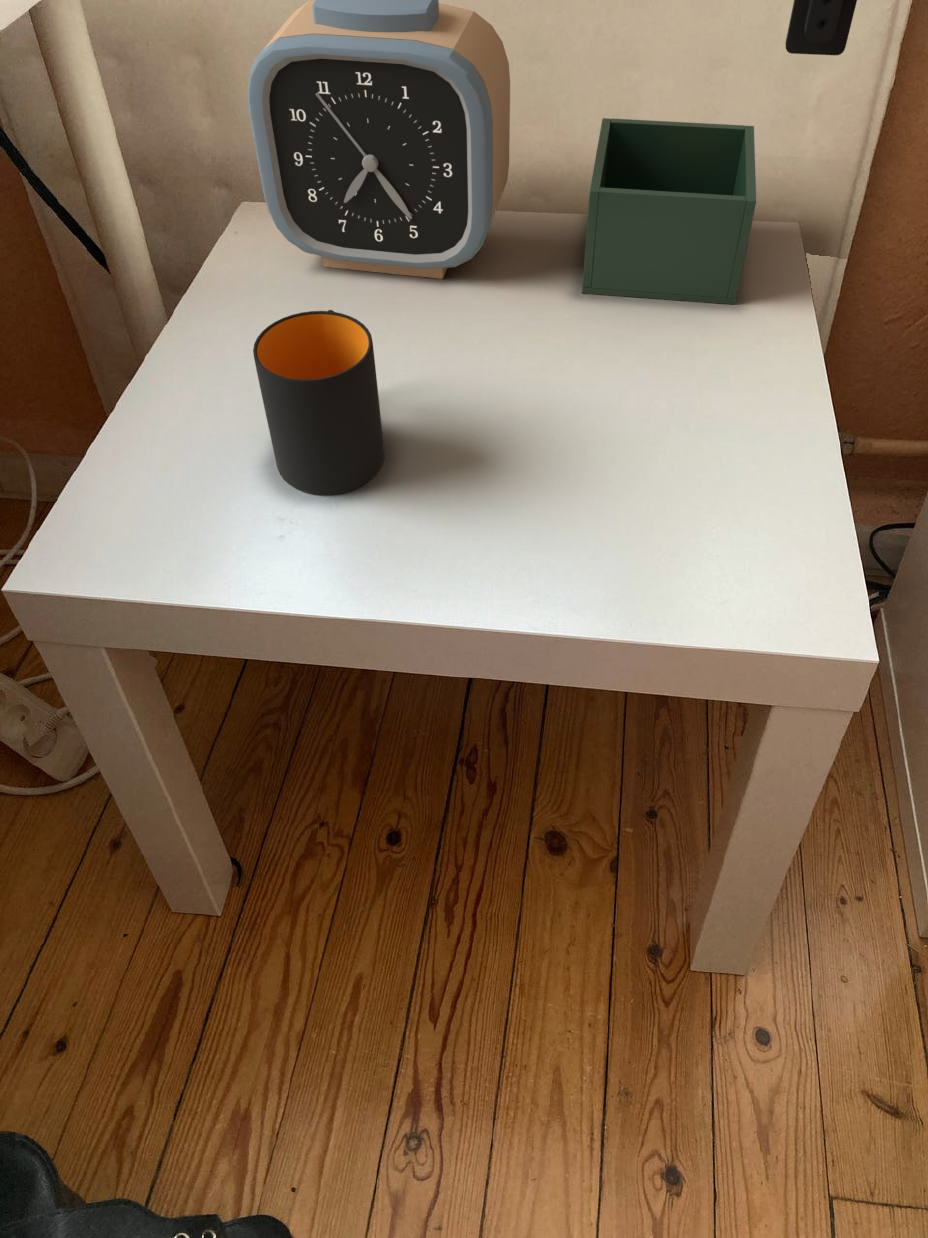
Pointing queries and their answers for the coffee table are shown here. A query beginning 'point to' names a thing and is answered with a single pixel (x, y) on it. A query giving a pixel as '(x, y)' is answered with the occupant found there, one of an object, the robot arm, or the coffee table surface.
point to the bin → (670, 210)
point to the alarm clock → (383, 132)
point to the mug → (321, 400)
